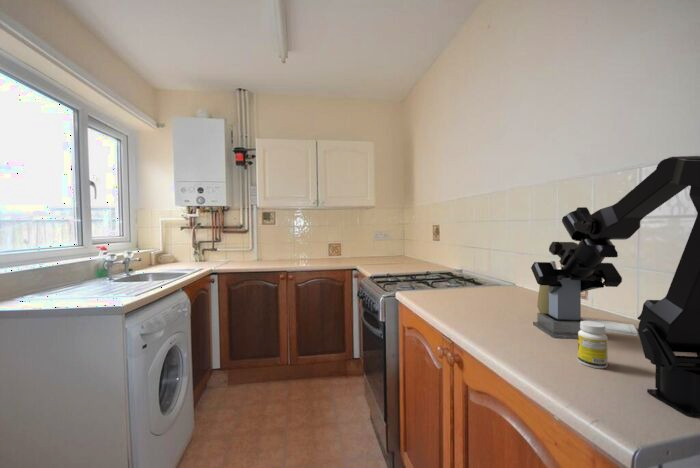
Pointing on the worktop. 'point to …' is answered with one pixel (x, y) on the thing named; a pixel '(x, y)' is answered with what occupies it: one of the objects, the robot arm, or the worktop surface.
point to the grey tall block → (566, 300)
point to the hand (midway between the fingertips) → (561, 291)
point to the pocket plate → (558, 326)
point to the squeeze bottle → (544, 295)
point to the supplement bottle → (592, 344)
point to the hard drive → (617, 327)
